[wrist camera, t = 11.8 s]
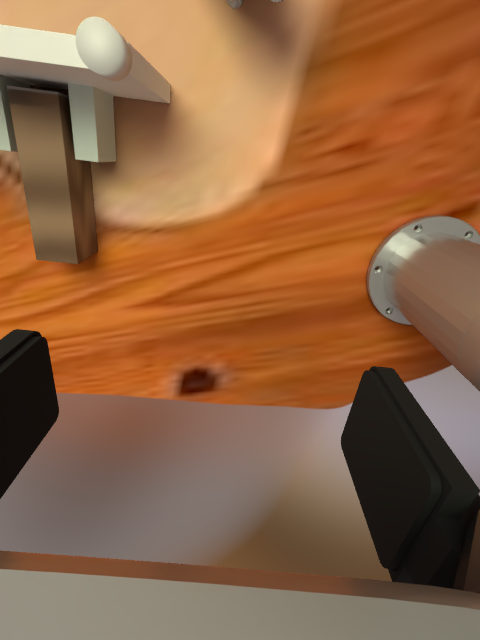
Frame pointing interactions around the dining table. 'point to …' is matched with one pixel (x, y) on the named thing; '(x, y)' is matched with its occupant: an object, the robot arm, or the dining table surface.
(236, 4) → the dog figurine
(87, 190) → the rail
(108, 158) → the pale grey legged piece
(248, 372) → the dining table surface
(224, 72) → the dining table surface
